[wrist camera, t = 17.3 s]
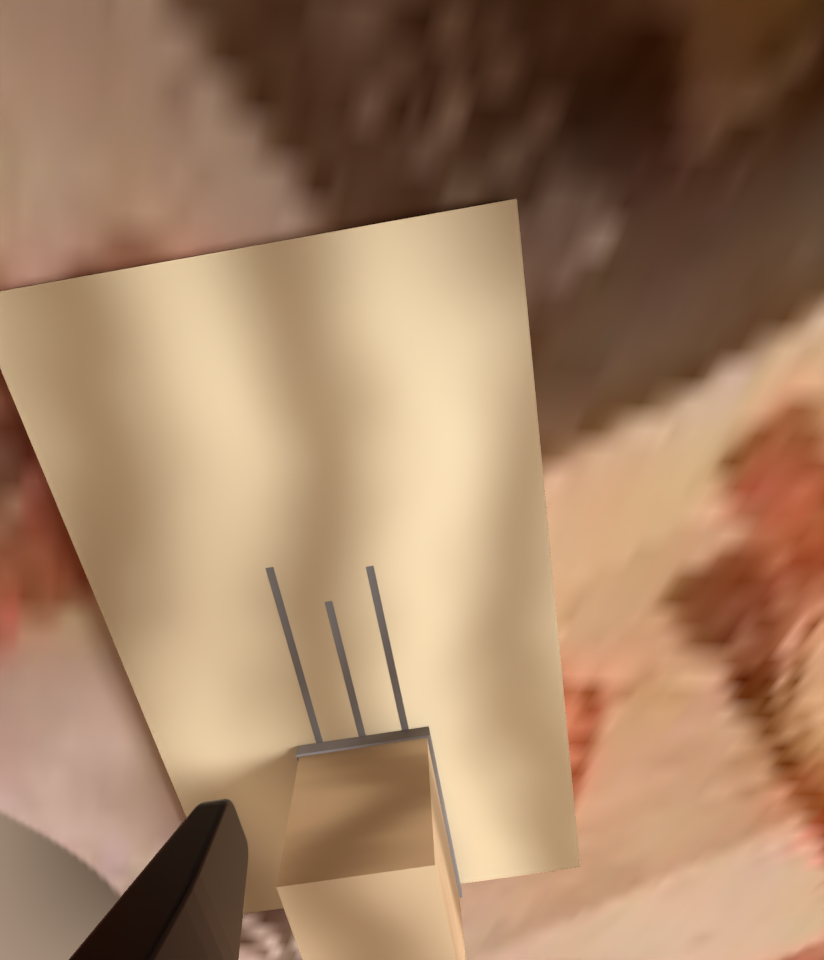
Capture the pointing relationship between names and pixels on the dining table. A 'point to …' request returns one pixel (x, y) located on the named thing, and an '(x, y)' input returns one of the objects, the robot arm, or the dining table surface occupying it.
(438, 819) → the block
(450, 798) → the board
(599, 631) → the dining table surface
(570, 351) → the dining table surface
